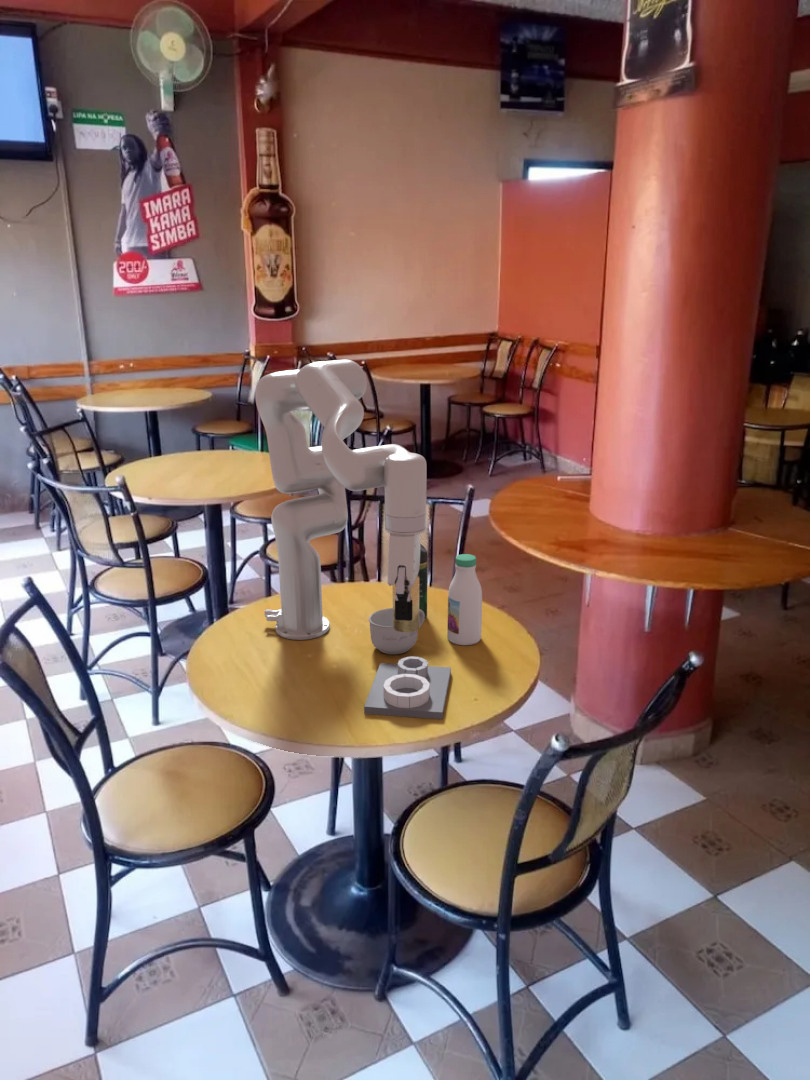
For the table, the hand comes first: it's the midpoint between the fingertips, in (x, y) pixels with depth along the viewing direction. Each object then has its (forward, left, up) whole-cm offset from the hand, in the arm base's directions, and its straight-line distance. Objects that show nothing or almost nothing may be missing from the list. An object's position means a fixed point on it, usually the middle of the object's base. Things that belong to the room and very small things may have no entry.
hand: (406, 612), depth 154 cm
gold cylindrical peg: (0, 0, -3) cm, 3 cm away
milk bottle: (+9, +30, -20) cm, 37 cm away
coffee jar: (-5, +41, -20) cm, 46 cm away
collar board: (0, +4, -19) cm, 20 cm away
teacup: (-5, +24, -20) cm, 31 cm away
